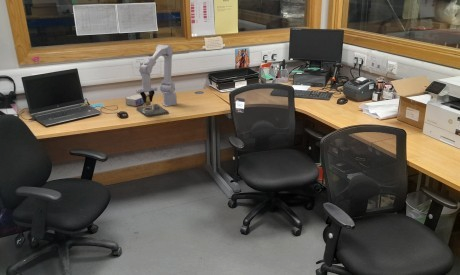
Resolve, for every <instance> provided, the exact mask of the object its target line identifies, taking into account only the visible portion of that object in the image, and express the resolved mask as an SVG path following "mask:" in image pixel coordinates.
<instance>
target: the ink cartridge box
mask: <svg viewBox="0 0 460 275" xmlns="http://www.w3.org/2000/svg"><path fill="white" fill-rule="evenodd" d="M143 104H144V105H145V103H144V102H143V99H142V96H141V95H140V94H137V93H135V94H133V95H131V96H128V97H125V105H127V106H131V107H138V106H139V107H140V106H141V105H143Z"/></svg>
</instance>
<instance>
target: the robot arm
mask: <svg viewBox="0 0 460 275" xmlns="http://www.w3.org/2000/svg"><path fill="white" fill-rule="evenodd" d="M161 56H162V57H163V59H164V62H163V63H164V64H163V80H162V81H161V82H160V85H159V89H160V92H161V93H162V99H163V102H161V105H163V106H165V107H170V106H177V105H178V100H177V94H176V92H175V90H176V86H175V82H174V81H173V80H172V61H173V47H172V45H170V44H169V45H168V44H157V46H156V47H155V52H154V53H153V55H152V56H151V57H148V58H147V59H146V60H145V62H144V63H143V64H141V65H140V66H139V68H138V72H139V73H140V76H141V87H142V88H141V89H137V90H136V93H135V94H137V95H141V96H142V99H143V102H144V104H145V103H146V99H145V97H146V94H147V93H148V94H150V102H151V103H153V98H154V96H155V92H157V91H158V87H157V86H156V87H152V82H151V73H152V71H153V68H154V67H155V65H156V63H157V60H158V59H159V58H160V57H161Z"/></svg>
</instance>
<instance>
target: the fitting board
mask: <svg viewBox="0 0 460 275" xmlns="http://www.w3.org/2000/svg"><path fill="white" fill-rule="evenodd" d="M135 108H136V112H137V111H138V112H139V113H140V114H142V115H143V116H145V117H146V118H151V117H157V116H163V115H169V112H170V111H169V110H167V109H165V108H164V107H162V106H160V104H159V103H155V104H154V103H153V104H152V105H148V106H146V105H144V106H139V107H138V106H137V107H135Z"/></svg>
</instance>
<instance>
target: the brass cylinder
mask: <svg viewBox="0 0 460 275" xmlns="http://www.w3.org/2000/svg"><path fill="white" fill-rule="evenodd" d="M145 94H146V97H145V99H146V103H144V106H150V105H151V103H152V102H150V94H149V93H145Z"/></svg>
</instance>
